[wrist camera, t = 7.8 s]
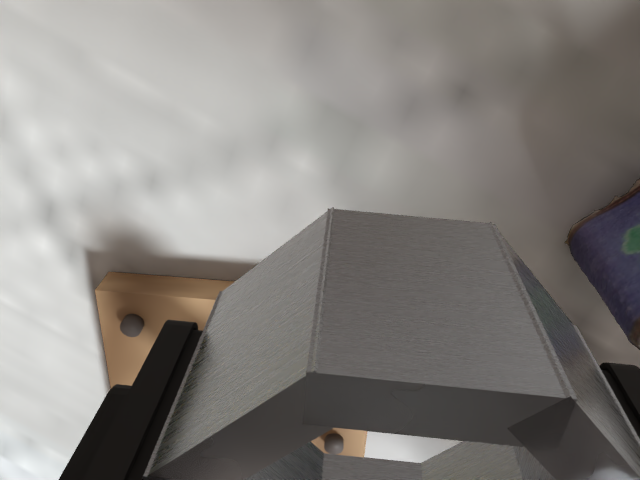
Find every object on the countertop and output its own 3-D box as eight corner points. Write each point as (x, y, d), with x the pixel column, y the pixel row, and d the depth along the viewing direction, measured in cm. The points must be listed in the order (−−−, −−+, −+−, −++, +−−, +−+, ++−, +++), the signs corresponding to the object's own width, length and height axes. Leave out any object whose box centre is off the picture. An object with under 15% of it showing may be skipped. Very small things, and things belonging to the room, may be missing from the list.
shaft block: (381, 293, 33) (390, 441, 23) (362, 440, 38) (363, 609, 29) (109, 271, 33) (5, 408, 24) (130, 420, 39) (54, 580, 29)
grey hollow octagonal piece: (610, 232, 10) (767, 415, 6) (517, 498, 13) (581, 726, 9) (216, 196, 10) (126, 351, 6) (220, 467, 14) (164, 678, 10)
